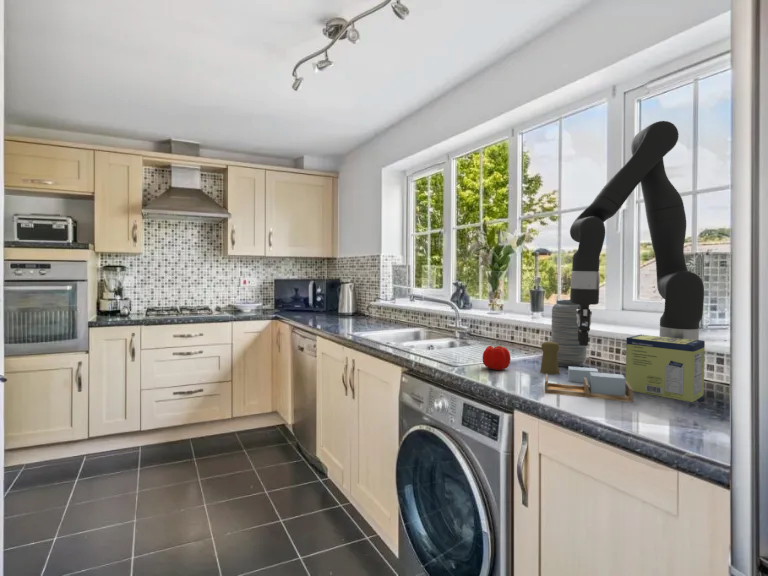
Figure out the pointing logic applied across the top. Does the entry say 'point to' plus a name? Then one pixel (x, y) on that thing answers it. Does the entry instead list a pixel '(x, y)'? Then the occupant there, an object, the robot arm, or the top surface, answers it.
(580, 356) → the vase
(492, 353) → the tomato
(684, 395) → the protein box
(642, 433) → the top surface
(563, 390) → the rack
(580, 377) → the grey blue block
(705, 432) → the top surface
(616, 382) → the pale blue sponge block
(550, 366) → the cork
